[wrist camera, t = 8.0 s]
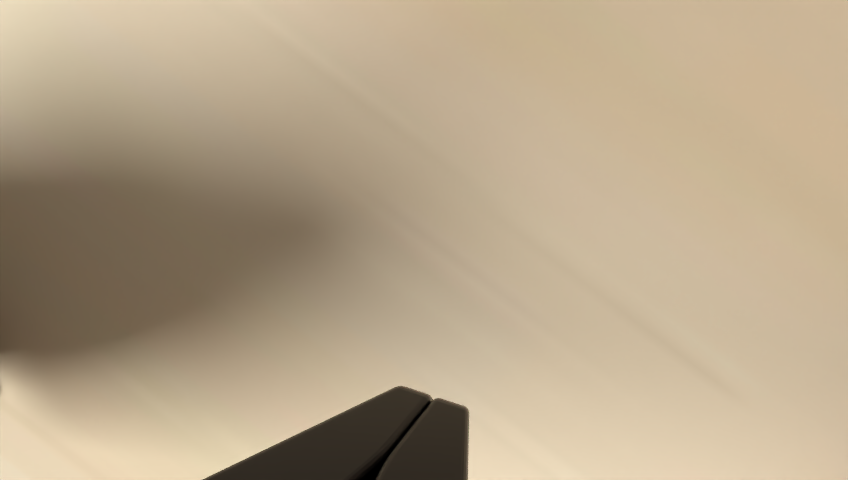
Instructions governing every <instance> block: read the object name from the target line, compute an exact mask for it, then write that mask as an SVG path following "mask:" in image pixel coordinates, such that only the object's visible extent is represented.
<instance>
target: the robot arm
mask: <svg viewBox="0 0 848 480" xmlns="http://www.w3.org/2000/svg"><path fill="white" fill-rule="evenodd" d="M468 441H469V411H468V409H467V408H466V407H465V406H462V405H459V404H456V403H453V402H450V401H447V400H444V399H441V398H437V399H434V400H433V399H432V398H431V396H430V395H428V394H426V393H423V392H420V391H417V390H413V389H410V388H407V387H403V386H398V387H395V388H393V389H391V390H388V391H386V392H384V393H382V394H380V395H378V396H376V397H374V398H372V399H370V400H368V401H366V402H363V403H361V404H359V405H357V406H355V407H353V408H351V409H349V410H347V411H345V412H343V413H341V414H338V415H336V416H334V417H332V418H330V419H328V420H326V421H324V422H322V423H320V424H318V425H316V426H313V427H311V428H309V429H307V430H305V431H303V432H301V433H299V434H297V435H295V436H293V437H290V438H288V439H286V440H284V441H282V442H280V443H278V444H276V445H274V446H272V447H270V448H268V449H265V450H263V451H261V452H259V453H257V454H255V455H253V456H251V457H249V458H247V459H245V460H243V461H240V462H238V463H236V464H234V465H232V466H230V467H228V468H226V469H224V470H222V471H220V472H217V473H215V474H213V475H211V476H209V477H207V478H205V479H203V480H468Z"/></svg>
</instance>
